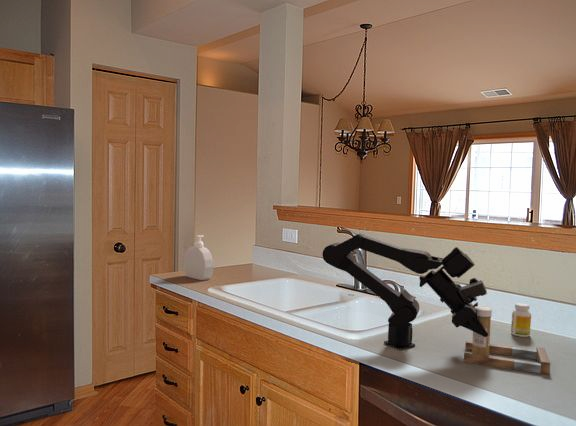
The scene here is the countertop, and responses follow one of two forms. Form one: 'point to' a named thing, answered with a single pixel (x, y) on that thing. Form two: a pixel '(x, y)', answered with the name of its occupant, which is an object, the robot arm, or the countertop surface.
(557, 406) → the countertop surface
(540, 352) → the walnut slot
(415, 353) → the countertop surface
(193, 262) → the soap bottle
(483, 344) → the sprinkles bottle
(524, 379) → the countertop surface
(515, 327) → the supplement bottle
